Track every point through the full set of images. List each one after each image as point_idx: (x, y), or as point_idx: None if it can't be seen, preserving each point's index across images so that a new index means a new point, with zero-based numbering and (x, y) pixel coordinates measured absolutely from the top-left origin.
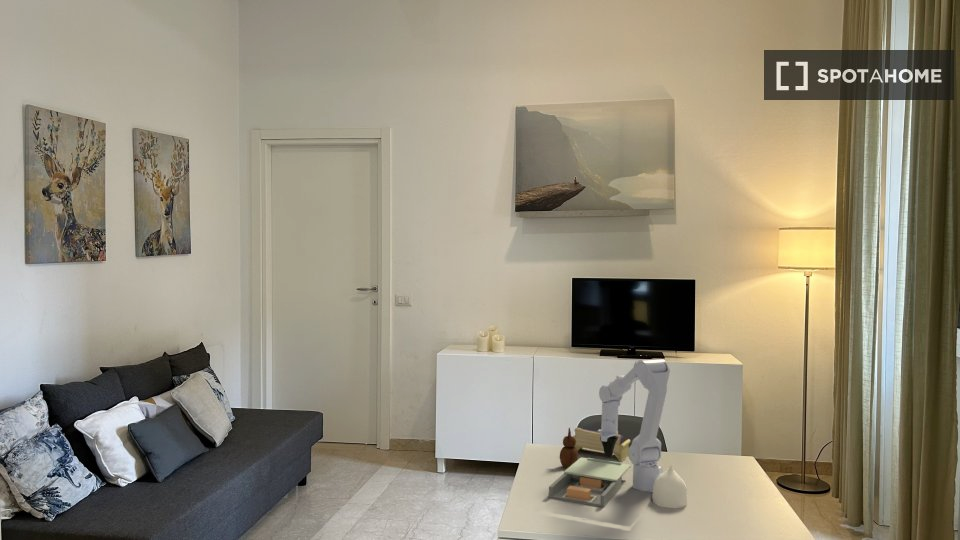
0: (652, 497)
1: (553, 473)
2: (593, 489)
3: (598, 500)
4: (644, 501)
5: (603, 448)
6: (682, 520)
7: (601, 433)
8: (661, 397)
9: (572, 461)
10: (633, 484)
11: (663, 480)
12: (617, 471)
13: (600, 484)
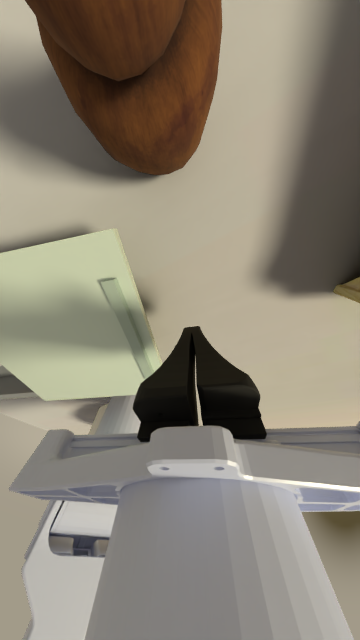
0: (103, 409)
1: (21, 120)
2: None
3: (2, 367)
4: (92, 399)
5: (175, 347)
6: (80, 430)
7: (66, 486)
8: None
9: (124, 164)
10: None
11: None
12: (93, 387)
13: None
